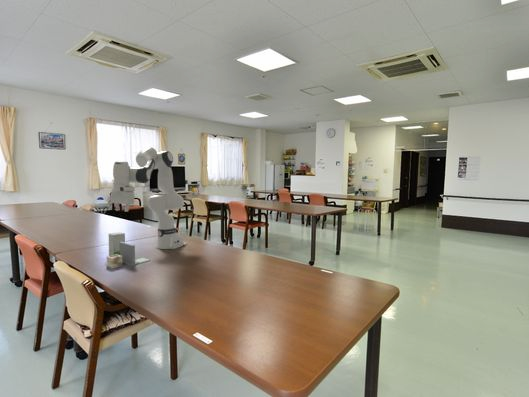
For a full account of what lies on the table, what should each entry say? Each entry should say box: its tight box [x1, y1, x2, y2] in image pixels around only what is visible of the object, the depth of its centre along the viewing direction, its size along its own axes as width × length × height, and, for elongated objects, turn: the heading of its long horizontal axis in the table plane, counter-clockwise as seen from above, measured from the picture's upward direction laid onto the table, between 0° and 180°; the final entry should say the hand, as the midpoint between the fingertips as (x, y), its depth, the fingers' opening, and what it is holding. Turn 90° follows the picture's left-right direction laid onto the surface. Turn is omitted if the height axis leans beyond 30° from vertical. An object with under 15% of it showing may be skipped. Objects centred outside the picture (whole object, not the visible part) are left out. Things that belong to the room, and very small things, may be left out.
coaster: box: [135, 257, 150, 264], centre depth 182 cm, size 7×7×1 cm
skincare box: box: [108, 231, 126, 256], centre depth 190 cm, size 8×7×16 cm
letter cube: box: [106, 254, 123, 269], centre depth 171 cm, size 6×6×6 cm
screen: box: [119, 241, 139, 267], centre depth 178 cm, size 5×15×12 cm, turn 56°
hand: (122, 211), depth 173 cm, fingers open, 8 cm apart
